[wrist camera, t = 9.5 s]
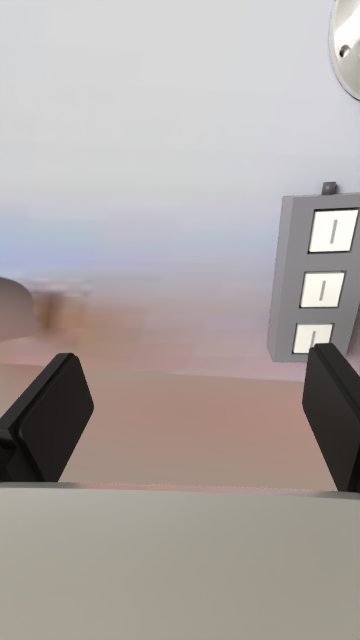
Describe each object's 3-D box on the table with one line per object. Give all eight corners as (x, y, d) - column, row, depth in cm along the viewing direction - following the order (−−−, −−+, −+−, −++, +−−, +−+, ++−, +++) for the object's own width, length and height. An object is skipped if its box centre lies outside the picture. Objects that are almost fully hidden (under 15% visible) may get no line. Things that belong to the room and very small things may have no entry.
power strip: (283, 184, 30) (294, 183, 26) (369, 180, 29) (392, 178, 26) (266, 346, 39) (273, 362, 36) (331, 346, 38) (344, 362, 35)
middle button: (299, 268, 32) (307, 274, 30) (334, 267, 32) (344, 273, 30) (295, 299, 34) (301, 307, 32) (328, 298, 34) (337, 306, 31)
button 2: (308, 210, 30) (317, 212, 27) (346, 208, 29) (358, 210, 27) (302, 247, 31) (310, 251, 29) (338, 246, 31) (349, 250, 29)
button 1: (292, 316, 35) (298, 325, 33) (324, 316, 35) (332, 325, 33) (288, 342, 37) (294, 353, 35) (318, 342, 37) (326, 353, 34)
